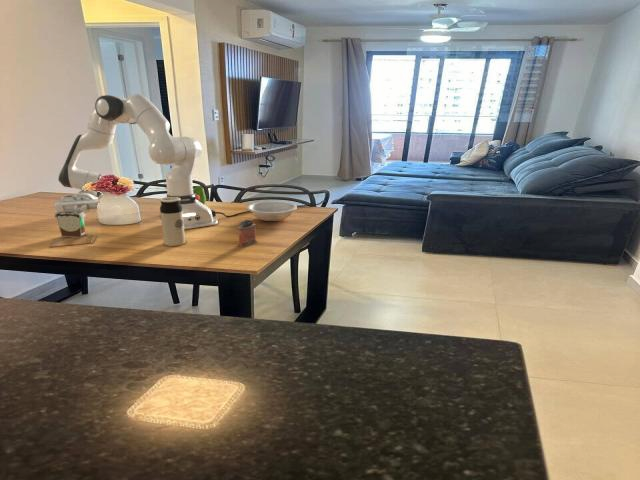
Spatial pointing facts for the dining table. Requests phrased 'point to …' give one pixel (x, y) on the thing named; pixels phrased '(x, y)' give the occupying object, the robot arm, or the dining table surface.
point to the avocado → (200, 194)
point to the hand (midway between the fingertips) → (79, 209)
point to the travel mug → (172, 221)
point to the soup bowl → (272, 210)
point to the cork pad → (73, 241)
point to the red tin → (246, 232)
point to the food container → (71, 223)
